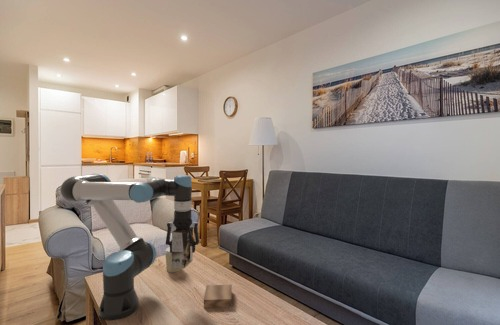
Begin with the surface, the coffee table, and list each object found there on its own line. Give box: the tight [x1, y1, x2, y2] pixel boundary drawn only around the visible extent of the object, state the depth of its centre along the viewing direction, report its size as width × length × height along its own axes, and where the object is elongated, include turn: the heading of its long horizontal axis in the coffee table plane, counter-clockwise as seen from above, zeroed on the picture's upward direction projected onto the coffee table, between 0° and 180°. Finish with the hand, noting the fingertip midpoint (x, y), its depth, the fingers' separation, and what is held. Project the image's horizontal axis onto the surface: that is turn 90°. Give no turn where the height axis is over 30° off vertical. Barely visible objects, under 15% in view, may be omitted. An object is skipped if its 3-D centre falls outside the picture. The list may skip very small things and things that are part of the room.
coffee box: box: [171, 226, 194, 270], centre depth 119 cm, size 9×6×16 cm
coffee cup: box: [164, 246, 182, 273], centre depth 149 cm, size 9×9×12 cm
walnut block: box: [203, 284, 233, 309], centre depth 120 cm, size 12×12×4 cm
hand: (182, 259), depth 119 cm, fingers closed on coffee box, 7 cm apart
